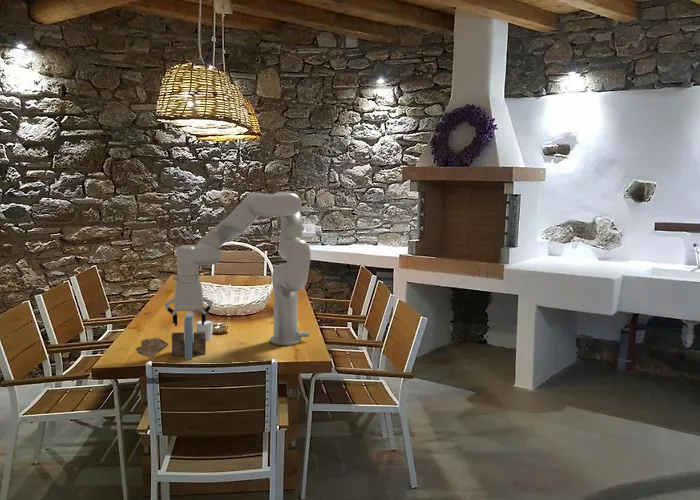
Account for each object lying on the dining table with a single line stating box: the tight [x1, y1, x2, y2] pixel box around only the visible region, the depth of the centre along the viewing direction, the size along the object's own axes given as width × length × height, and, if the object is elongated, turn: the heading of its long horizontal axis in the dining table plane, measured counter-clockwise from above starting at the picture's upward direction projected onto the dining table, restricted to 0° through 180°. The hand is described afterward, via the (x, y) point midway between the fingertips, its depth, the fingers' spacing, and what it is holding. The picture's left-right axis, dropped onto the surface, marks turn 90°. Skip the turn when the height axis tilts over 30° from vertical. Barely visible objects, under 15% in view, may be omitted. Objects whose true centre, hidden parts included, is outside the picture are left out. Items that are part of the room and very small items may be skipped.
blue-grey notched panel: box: [183, 312, 194, 361], centre depth 228 cm, size 14×2×14 cm, turn 11°
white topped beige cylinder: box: [195, 319, 214, 341], centre depth 248 cm, size 7×7×7 cm
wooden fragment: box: [136, 337, 169, 358], centre depth 236 cm, size 26×11×1 cm, turn 9°
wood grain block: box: [171, 331, 207, 356], centre depth 228 cm, size 12×2×8 cm, turn 101°
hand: (189, 324), depth 227 cm, fingers open, 9 cm apart
